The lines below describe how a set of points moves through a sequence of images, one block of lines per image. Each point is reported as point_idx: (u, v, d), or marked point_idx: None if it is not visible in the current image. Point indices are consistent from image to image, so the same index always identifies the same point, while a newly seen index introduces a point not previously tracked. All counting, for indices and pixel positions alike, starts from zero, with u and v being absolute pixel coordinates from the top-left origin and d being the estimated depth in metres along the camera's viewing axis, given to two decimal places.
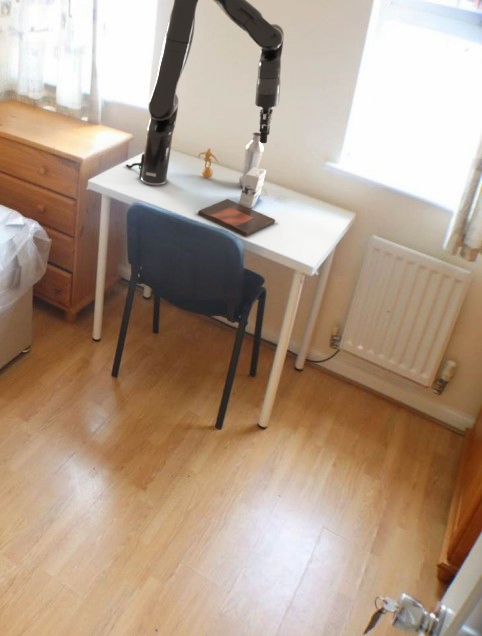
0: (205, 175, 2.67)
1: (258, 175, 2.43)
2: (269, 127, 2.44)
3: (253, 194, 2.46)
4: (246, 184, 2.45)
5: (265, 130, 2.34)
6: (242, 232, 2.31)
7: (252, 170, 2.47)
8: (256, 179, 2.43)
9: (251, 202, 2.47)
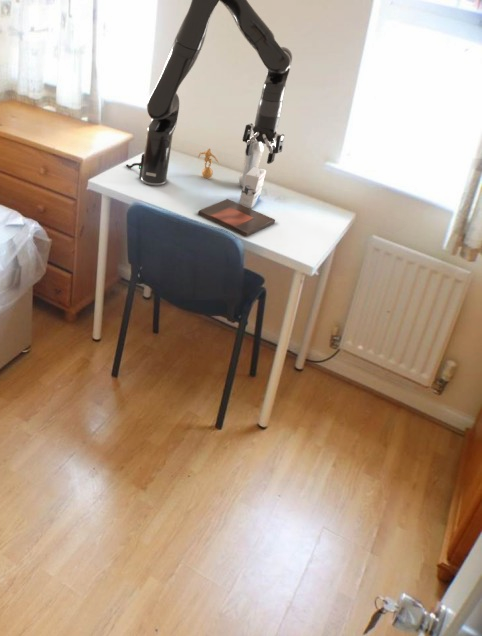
0: (205, 175, 2.67)
1: (258, 175, 2.43)
2: (252, 147, 2.45)
3: (253, 194, 2.46)
4: (246, 184, 2.45)
5: (280, 150, 2.36)
6: (242, 232, 2.31)
7: (252, 170, 2.47)
8: (256, 179, 2.43)
9: (251, 202, 2.47)
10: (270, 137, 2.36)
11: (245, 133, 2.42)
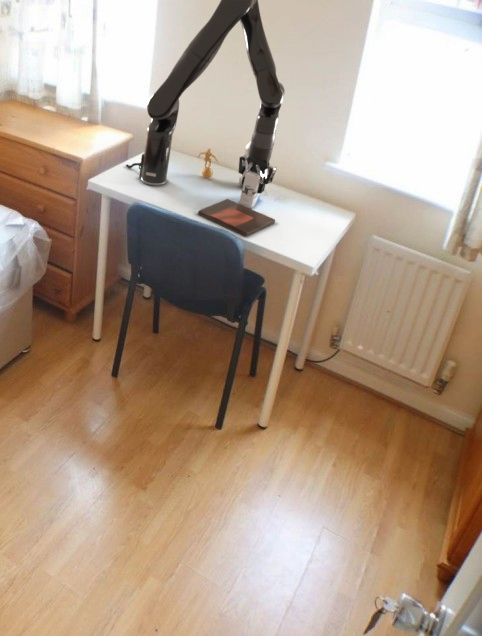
0: (205, 175, 2.67)
1: (258, 175, 2.43)
2: None
3: (253, 194, 2.46)
4: (246, 184, 2.45)
5: (270, 181, 2.44)
6: (242, 232, 2.31)
7: None
8: (256, 179, 2.43)
9: (251, 202, 2.47)
10: (263, 168, 2.42)
11: (240, 165, 2.48)
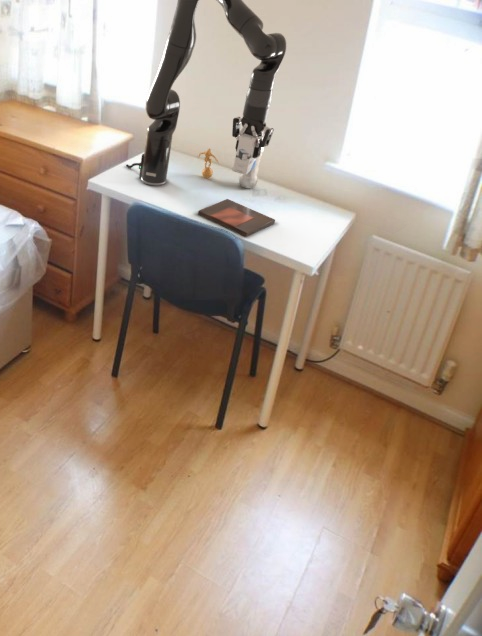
0: (205, 175, 2.67)
1: (253, 137, 2.22)
2: None
3: (248, 159, 2.25)
4: (240, 148, 2.24)
5: (267, 144, 2.22)
6: (242, 232, 2.31)
7: None
8: (251, 142, 2.21)
9: (246, 168, 2.26)
10: (259, 129, 2.21)
11: (233, 127, 2.27)
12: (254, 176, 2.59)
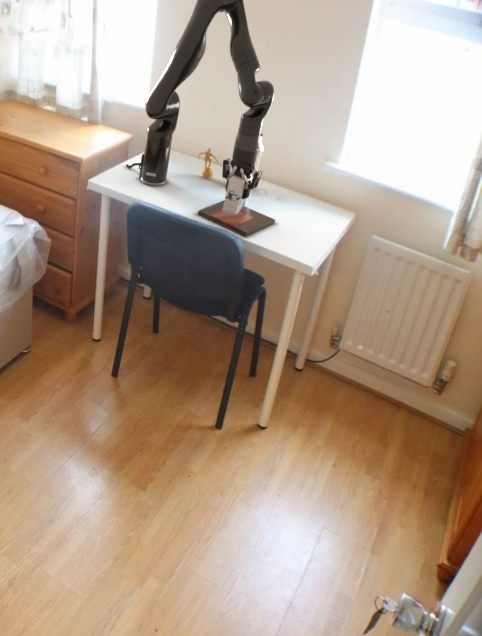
0: (205, 175, 2.67)
1: None
2: None
3: (237, 200, 2.31)
4: (230, 189, 2.30)
5: (255, 186, 2.29)
6: (242, 232, 2.31)
7: None
8: (240, 184, 2.28)
9: (235, 208, 2.32)
10: (248, 172, 2.27)
11: (223, 169, 2.33)
12: None
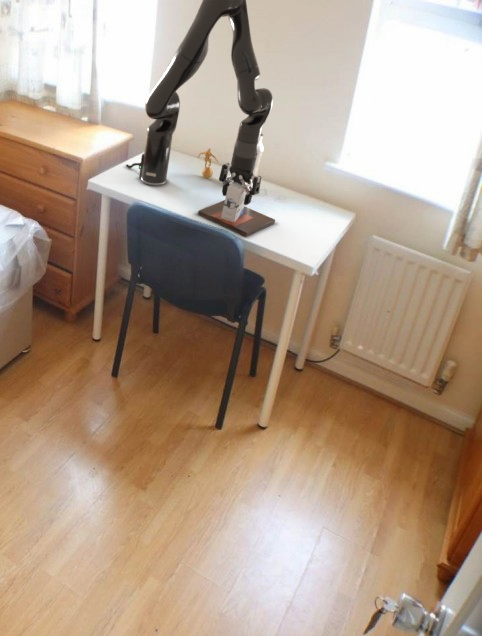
0: (205, 175, 2.67)
1: (241, 187, 2.30)
2: None
3: (236, 207, 2.32)
4: (228, 197, 2.32)
5: (257, 192, 2.29)
6: (242, 232, 2.31)
7: (235, 182, 2.33)
8: (239, 192, 2.29)
9: (234, 216, 2.34)
10: (247, 178, 2.28)
11: (221, 173, 2.35)
12: None
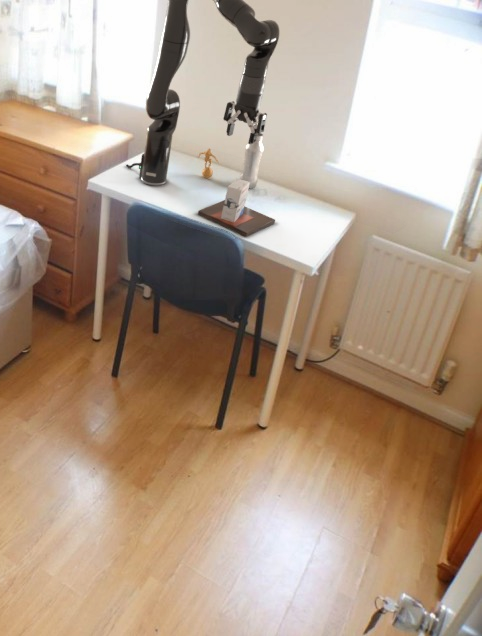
0: (205, 175, 2.67)
1: (241, 187, 2.30)
2: None
3: (236, 207, 2.32)
4: (228, 197, 2.32)
5: (262, 130, 2.23)
6: (242, 232, 2.31)
7: (235, 182, 2.33)
8: (239, 192, 2.29)
9: (234, 216, 2.34)
10: (252, 116, 2.23)
11: (226, 112, 2.29)
12: (254, 176, 2.59)
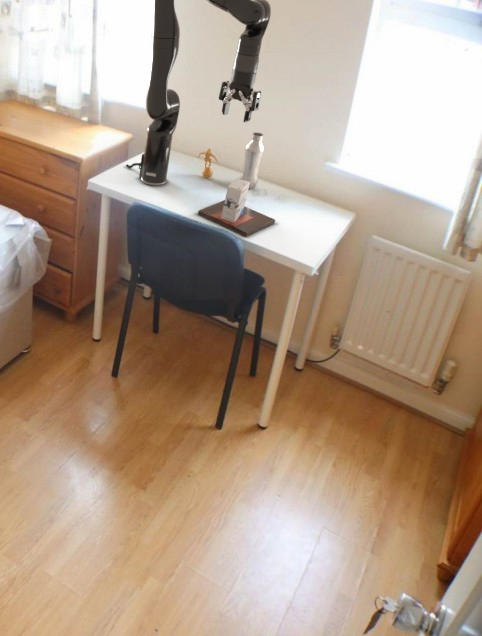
0: (205, 175, 2.67)
1: (241, 187, 2.30)
2: None
3: (236, 207, 2.32)
4: (228, 197, 2.32)
5: (257, 108, 2.28)
6: (242, 232, 2.31)
7: (235, 182, 2.33)
8: (239, 192, 2.29)
9: (234, 216, 2.34)
10: (246, 94, 2.28)
11: (221, 91, 2.34)
12: (254, 176, 2.59)
